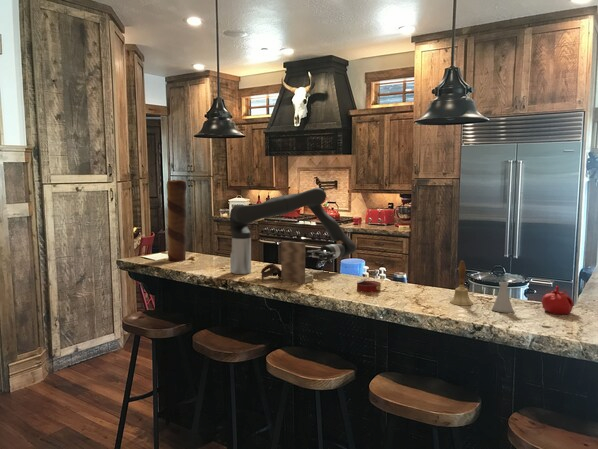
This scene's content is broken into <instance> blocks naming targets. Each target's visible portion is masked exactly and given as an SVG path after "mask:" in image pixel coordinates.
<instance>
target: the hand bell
mask: <svg viewBox="0 0 598 449" xmlns="http://www.w3.org/2000/svg"><path fill="white" fill-rule="evenodd" d="M466 269H467V268H466V264H465V261H464V260H460V262H459V265H458V270H457V271H458V275H459V282H458V283H459V286H458V287H456V288H455V290H454V294H453V297H452V298H451V299H450V300H449V303H450V304H452V305H455V306H463V307H464V306H465V307H466V306H467V307H469V306H472V305H473V304H474V302H473V301H472V299H471V298H470V296H469V290H468V288H466V287H465V277H466V276H465V275H466Z"/></svg>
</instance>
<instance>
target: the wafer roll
mask: <svg viewBox="0 0 598 449" xmlns="http://www.w3.org/2000/svg"><path fill="white" fill-rule="evenodd" d="M186 193H187V181H186V180H185V179H172V180H167V183H166V196H167V197H166V201H167V202H166V203H167V204H166V205H167V240H168V243H167V244H168V246H167V247H168V248H167V257H168V260H169V261H171V262H182V261H186V255H187V254H186V253H187V252H186V248H187V247H186V245H187V241H186V240H187V239H186V238H187V236H186V234H187V232H186V231H187V230H186V228H187V227H186V226H187V208H186V206H187V201H186V199H187V198H186V195H187V194H186Z"/></svg>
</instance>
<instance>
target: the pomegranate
mask: <svg viewBox="0 0 598 449" xmlns="http://www.w3.org/2000/svg"><path fill="white" fill-rule="evenodd" d="M559 289H560V286H558V285H556V286H555V288H553V290H549V289H547V290H544V291H546V292H548V293H546V294H544V295H543V296H542V299H541V305H542V308H543V310H544V311H546V312H548V313H549V314H554V315H568V314H570V313H571V312H572V311H573V308H574V300H573V299H572V298H571V297H570V296H569V295H568V291H566V290H562V291H560V290H559Z"/></svg>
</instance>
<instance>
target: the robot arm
mask: <svg viewBox="0 0 598 449" xmlns="http://www.w3.org/2000/svg"><path fill="white" fill-rule="evenodd" d="M326 199H327V193H326V191H325V190H324V189H323V188H320V187H314V188H310V189H308V190H305V191H302V192H297V193H296V192H295V193H291V194H285V195H279V196H276V197H273V198H269V199H267V200H265V201H263V202H260V203H257V204H247V205H246V204H245V205H244V204H235V205H233V207H232V208H231V210H230V211H229V212H230V213H229V228H230V233H231V252H230V264H229V265H230V266H229V268H230V273H232V274H233V275H234V274H236V275H247V274H250V273H252V238H251V237H252V234H251V230H250V229H249V224H250V223H253V222H256V221H258V220H262V219H266V218H273V217H278V216H282V215H286V214H290V213H293V212H294V211H296V210H298V209H301V208H304V207H308V209H309V210H310V211H311V212H312V213H313V214H314V216H315V217H316V218H317V219H318V220H319V221H320V223H321V225H322V226H323V228H325V230H326V232H327V233H328V235H329V237H330V238H331V240H332V241H333V242H340V241H341V242H342V243H334V244H326V245H322V246H321V247H320V248H319V249H310V250H309V249H307V250H305V258H310V257H312V258H318V259H319V260H322V261H324V262H328V261H332V260H335V259H338V258H340V259H343V258H346V257H347V256H349V255H351V254H353V253H355V252H356V251H357V246H356V244H355V242H354V240H352V239H351V238H350V237H349V236H348V234H346V233H345V232H344V231H343V229H342V228H341V226H340V224H339V223H338V221H336V219H335V218H333V217H332V216H331V215H329V214H328V212H327V211H326V210H325V209H324V207H323V205H322V204H323V203H324V202H325V201H326Z"/></svg>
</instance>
